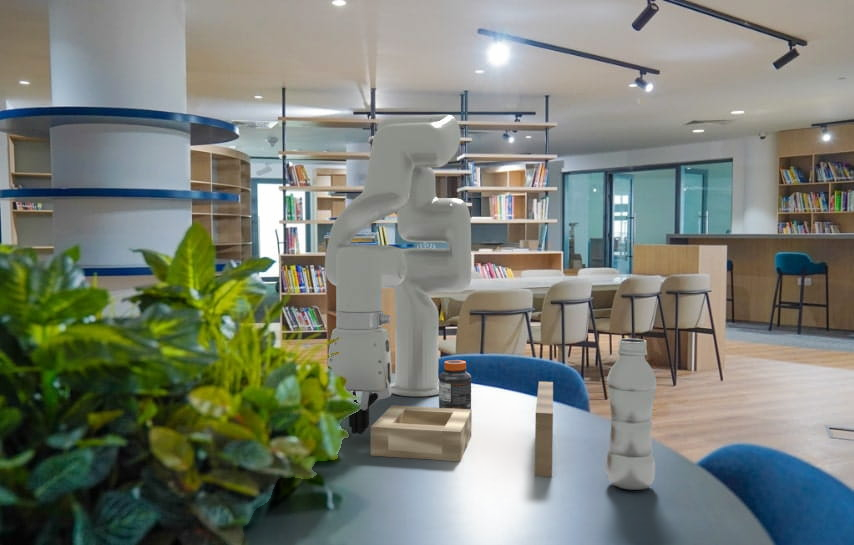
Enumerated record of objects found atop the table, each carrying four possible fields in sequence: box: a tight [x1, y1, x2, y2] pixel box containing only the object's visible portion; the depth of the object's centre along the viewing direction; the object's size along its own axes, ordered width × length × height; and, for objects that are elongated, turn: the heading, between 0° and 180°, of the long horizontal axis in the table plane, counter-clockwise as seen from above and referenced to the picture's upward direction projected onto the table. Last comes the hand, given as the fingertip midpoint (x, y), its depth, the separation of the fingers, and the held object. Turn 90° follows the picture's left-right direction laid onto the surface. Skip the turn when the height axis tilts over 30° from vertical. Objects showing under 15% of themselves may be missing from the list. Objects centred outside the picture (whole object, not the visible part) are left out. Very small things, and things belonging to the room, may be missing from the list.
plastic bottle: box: [605, 338, 657, 491], centre depth 92 cm, size 6×7×20 cm
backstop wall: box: [534, 381, 554, 477], centre depth 107 cm, size 22×2×9 cm, turn 169°
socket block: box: [370, 405, 473, 462], centre depth 110 cm, size 14×14×4 cm
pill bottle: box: [438, 359, 472, 409], centre depth 124 cm, size 6×6×11 cm
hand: (359, 431), depth 112 cm, fingers closed
